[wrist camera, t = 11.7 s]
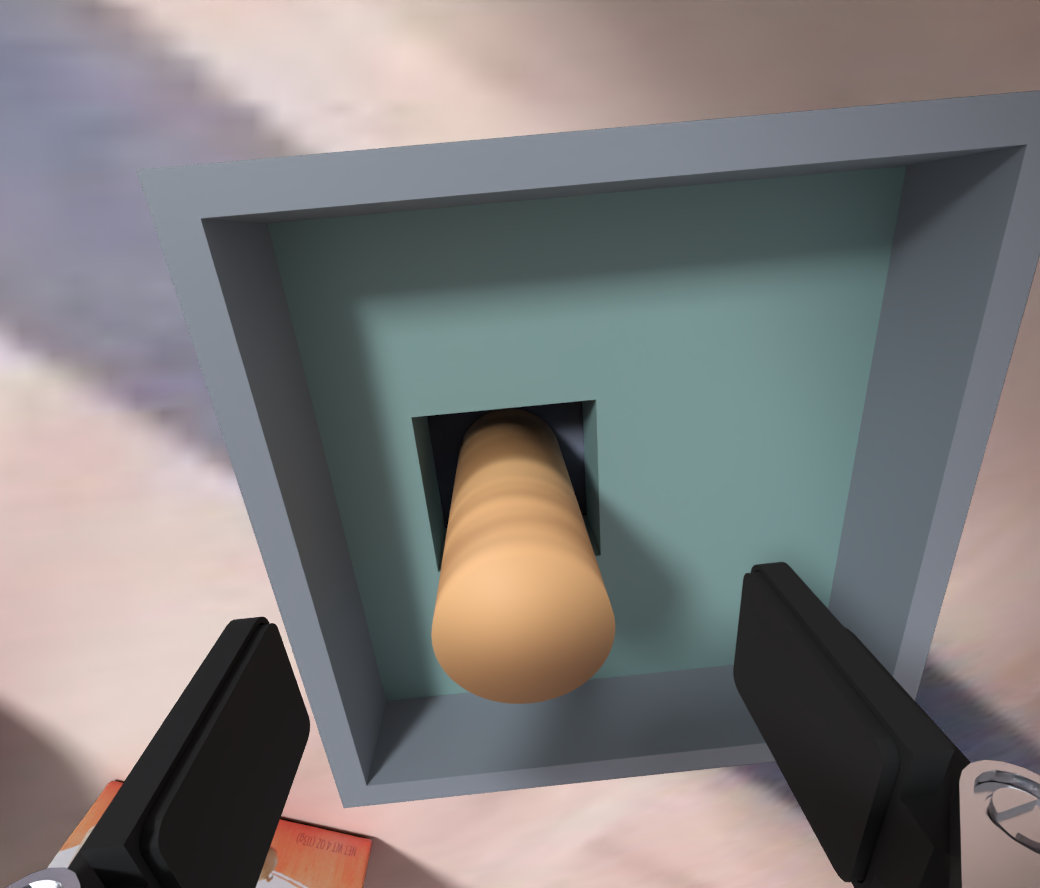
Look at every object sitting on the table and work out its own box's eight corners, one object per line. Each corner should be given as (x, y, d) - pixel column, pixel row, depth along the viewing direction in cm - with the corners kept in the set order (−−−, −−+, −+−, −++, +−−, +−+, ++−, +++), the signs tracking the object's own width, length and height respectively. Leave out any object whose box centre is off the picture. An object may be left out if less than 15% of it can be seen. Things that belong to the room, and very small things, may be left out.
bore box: (266, 195, 16) (136, 169, 10) (873, 141, 17) (1087, 85, 11) (381, 665, 24) (343, 807, 18) (800, 621, 24) (901, 747, 18)
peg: (453, 413, 20) (417, 568, 10) (556, 403, 20) (613, 548, 10) (466, 504, 21) (445, 712, 12) (561, 495, 21) (616, 694, 12)
